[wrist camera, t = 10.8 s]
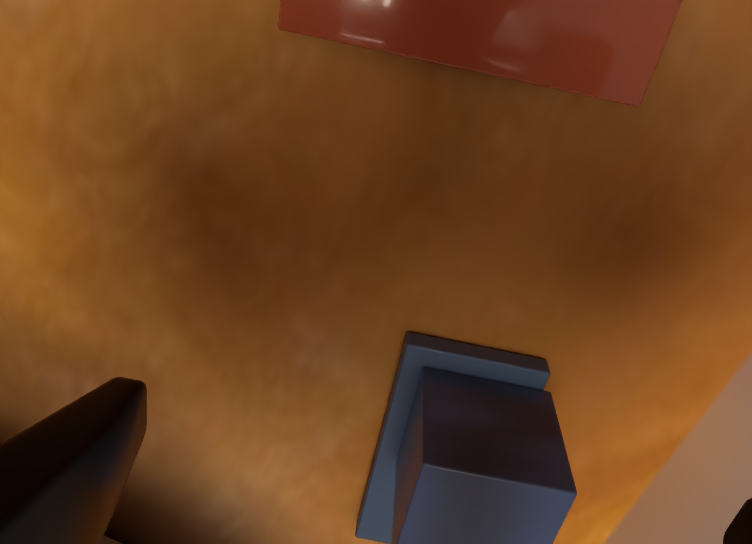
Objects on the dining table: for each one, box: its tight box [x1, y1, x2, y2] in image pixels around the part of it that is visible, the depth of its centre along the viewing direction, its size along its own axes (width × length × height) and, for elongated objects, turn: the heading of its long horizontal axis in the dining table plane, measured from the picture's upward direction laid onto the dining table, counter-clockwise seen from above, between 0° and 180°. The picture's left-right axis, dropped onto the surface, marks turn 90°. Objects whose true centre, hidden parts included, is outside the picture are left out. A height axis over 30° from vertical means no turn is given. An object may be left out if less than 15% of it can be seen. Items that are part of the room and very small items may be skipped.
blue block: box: [392, 367, 577, 544], centre depth 21 cm, size 4×4×4 cm
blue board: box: [355, 332, 550, 544], centre depth 24 cm, size 5×10×1 cm, turn 169°
